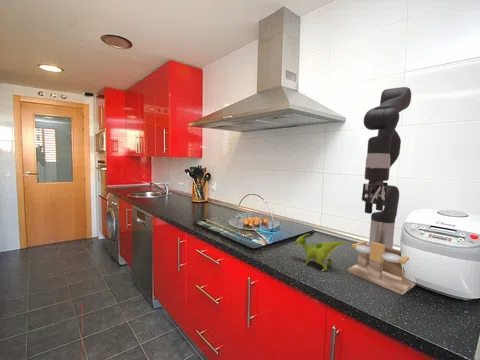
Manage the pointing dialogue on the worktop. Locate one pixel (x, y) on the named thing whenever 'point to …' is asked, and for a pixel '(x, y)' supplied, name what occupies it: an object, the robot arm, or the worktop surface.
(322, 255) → the toy
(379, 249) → the glasses
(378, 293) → the worktop surface
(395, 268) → the display stand
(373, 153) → the robot arm
